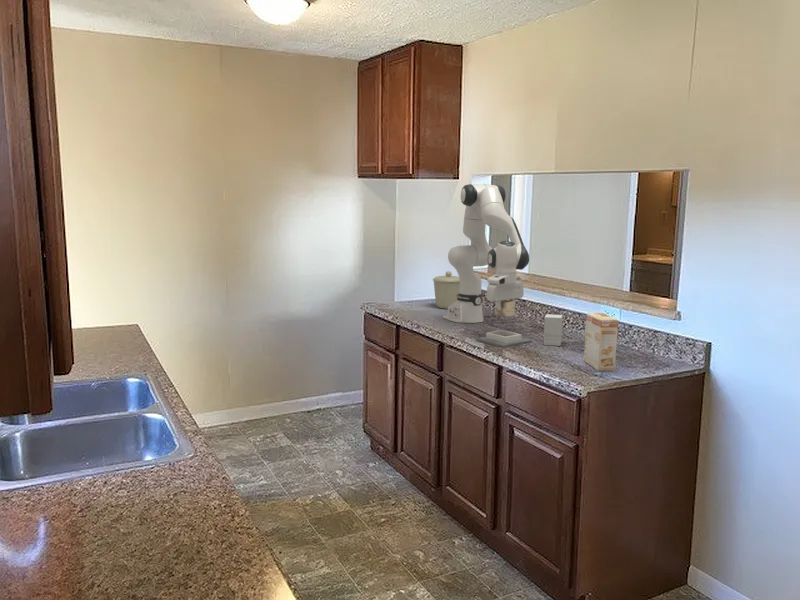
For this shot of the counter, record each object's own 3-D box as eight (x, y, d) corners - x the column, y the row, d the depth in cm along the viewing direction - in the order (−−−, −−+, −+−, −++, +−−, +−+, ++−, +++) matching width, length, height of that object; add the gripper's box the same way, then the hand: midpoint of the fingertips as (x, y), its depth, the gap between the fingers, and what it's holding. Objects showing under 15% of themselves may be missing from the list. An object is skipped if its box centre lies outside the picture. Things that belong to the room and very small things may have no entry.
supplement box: (561, 342, 293) (563, 314, 291) (560, 346, 286) (561, 317, 284) (545, 341, 295) (546, 313, 293) (542, 345, 288) (544, 316, 286)
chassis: (475, 340, 296) (476, 332, 295) (503, 335, 306) (504, 328, 306) (503, 347, 282) (503, 339, 282) (531, 342, 293) (532, 334, 293)
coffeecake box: (615, 370, 247) (619, 319, 244) (597, 371, 246) (600, 319, 243) (600, 360, 262) (603, 312, 258) (583, 361, 261) (585, 312, 258)
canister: (429, 305, 388) (430, 269, 384) (460, 304, 390) (461, 269, 386) (434, 310, 370) (435, 273, 367) (466, 310, 372) (467, 273, 369)
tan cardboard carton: (495, 314, 294) (495, 300, 293) (503, 312, 297) (503, 299, 296) (506, 316, 288) (507, 302, 287) (514, 315, 291) (515, 301, 290)
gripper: (516, 276, 299) (515, 306, 301) (484, 279, 286) (483, 310, 288) (527, 277, 294) (526, 308, 296) (495, 280, 281) (494, 312, 283)
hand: (505, 309), depth 292 cm, fingers closed on tan cardboard carton, 5 cm apart
